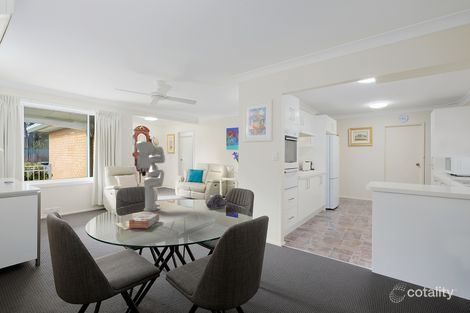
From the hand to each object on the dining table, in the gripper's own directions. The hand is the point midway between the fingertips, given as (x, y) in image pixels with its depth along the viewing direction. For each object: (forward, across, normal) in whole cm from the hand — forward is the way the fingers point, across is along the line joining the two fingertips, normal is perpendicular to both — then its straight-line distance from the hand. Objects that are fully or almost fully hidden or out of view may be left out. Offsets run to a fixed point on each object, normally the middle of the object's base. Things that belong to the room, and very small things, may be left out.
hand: (143, 176), depth 207 cm
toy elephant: (+35, -61, +28) cm, 76 cm away
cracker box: (+31, +4, +20) cm, 38 cm away
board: (+35, +17, +18) cm, 43 cm away
